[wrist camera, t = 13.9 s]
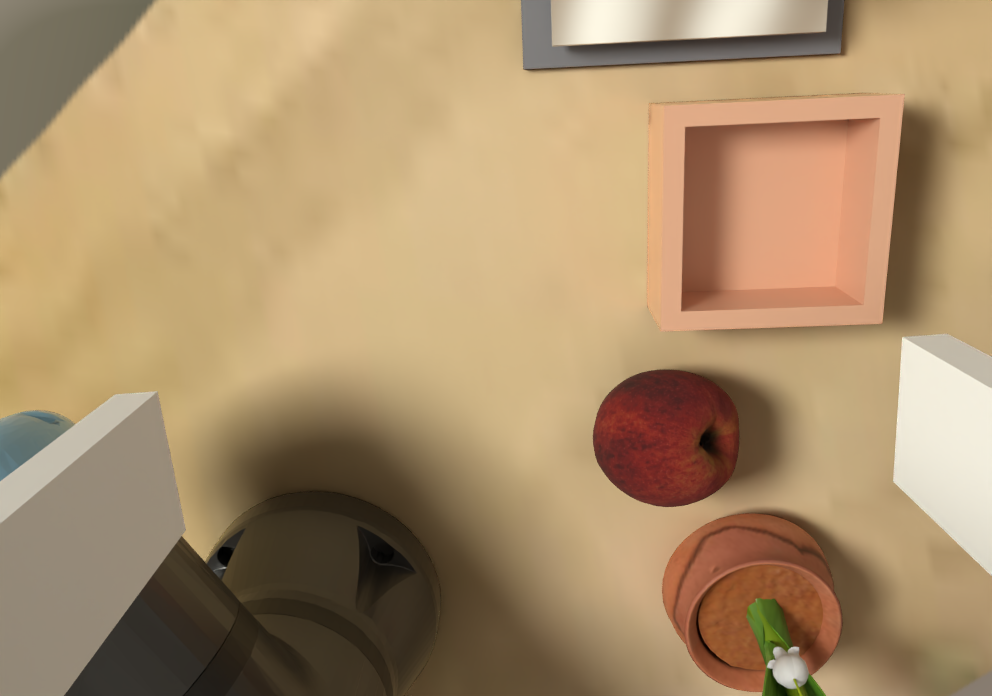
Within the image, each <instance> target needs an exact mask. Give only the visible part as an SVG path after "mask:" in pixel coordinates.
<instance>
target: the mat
mask: <svg viewBox="0 0 992 696" xmlns="http://www.w3.org/2000/svg"><path fill="white" fill-rule="evenodd" d="M521 11H522V40H523V68H524V69H540V68H560V67H580V66H600V65H620V64H639V63H659V62H679V61H699V60H719V59H739V58H759V57H779V56H799V55H819V54H838V53H841V39H842V26H843V12H844V0H828V8H827V23H826V32H820V33H808V34H788V35H769V36H749V37H730V38H710V39H691V40H671V41H652V42H632V43H613V44H594V45H574V46H555V47H552V21H551V0H521Z"/></svg>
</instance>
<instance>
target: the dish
mask: <svg viewBox="0 0 992 696" xmlns="http://www.w3.org/2000/svg"><path fill="white" fill-rule="evenodd" d="M904 95H905V94H879V93H853V94H832V95H811V96H790V97H770V98H749V99H728V100H707V101H686V102H665V103H649V150H648V269H647V307H648V309H649V310H650V312H651V314H652V316H653V318H654V320H655V322H656V323H657V325H658V327H659V329H660V331H686V330H715V329H744V328H773V327H802V326H830V325H859V324H882V321H883V310H884V300H885V290H886V280H887V269H888V259H889V249H890V239H891V228H892V218H893V208H894V198H895V187H896V177H897V167H898V157H899V146H900V136H901V126H902V116H903V105H904Z"/></svg>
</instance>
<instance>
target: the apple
mask: <svg viewBox="0 0 992 696" xmlns="http://www.w3.org/2000/svg"><path fill="white" fill-rule="evenodd" d="M593 445H594V451H595V456H596V459H597V462H598V464H599V466H600V467H601V469H602V471H603V472H604V474H605V475H606V476H607V477H608V479H609V480H610V481H611V482H612V483H613V484H614V485H615V486H616V487H617V488H619V489H620V490H621V491H623V492H624V493H626V494H627V495H629V496H630V497H632V498H634V499H636V500H639V501H641V502H644V503H647V504H651V505H655V506H662V507H676V506H683V505H688V504H691V503H694V502H697V501H700V500H702V499H704V498H706V497H708V496H710V495H712V494H713V493H715V492H716V491H717V490H719V489H720V488H721V487H722V486H723V485H724V484H725V483H726V482H727V481H728V480H729V478H730V477H731V475H732V473H733V471H734V469H735V465H736V461H737V457H738V450H739V418H738V413H737V410H736V407H735V405H734V403H733V402H732V400H731V398H730V397H729V396H728V395H727V393H726V392H725V391H723V390H722V389H721V388H720V387H719V386H718V385H716V384H715V383H713V382H712V381H710V380H708V379H706V378H704V377H702V376H699V375H696V374H693V373H690V372H685V371H679V370H653V371H647V372H643V373H640V374H637V375H634V376H632V377H630V378H628V379H626V380H624V381H623V382H621V383H620V384H619V385H617V386H616V387H615V388H614V389H613V390H612V391H611V392H610V393H609V394H608V395H607V396H606V398H605V399H604V401H603V402H602V404H601V406H600V408H599V410H598V413H597V417H596V421H595V425H594V430H593Z"/></svg>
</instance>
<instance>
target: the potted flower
mask: <svg viewBox="0 0 992 696" xmlns="http://www.w3.org/2000/svg"><path fill="white" fill-rule="evenodd" d="M662 594H663V603H664V606H665V609H666V612H667V615H668V616H669V618H670V620H671V622H672V624H673V626H674V628H675V630H676V632H677V634H678V635H679V637H680V638H681V639H682V640H683V642H684V643H685V644H686V646H687V649H688V652H689V654H690V656H691V657H692V659H693V661H694V662H695V663H696V665H697V666H698V667H699V669H701V670H702V671H703V672H704V673H705V674H706V675H707V676H708V677H710V678H712V679H713V680H715V681H716V682H718V683H720V684H722V685H725V686H727V687H730V688H733V689H737V690H742V691H749V692H762V696H826V695H825V694H824V692H823V691H822V689H821V688H820V687H819V685H818V684H817V683H816V681H815V680H814V679H813V678H812V676H811V675H812V674H814V673H815V672H817V671H818V670H819V669H820V668H821V667H822V666H823V665H824V664H825V663H826V662H827V661H828V659H829V658H830V657H831V655H832V654H833V652H834V650H835V648H836V647H837V645H838V642H839V639H840V636H841V631H842V624H843V622H842V610H841V606H840V602H839V600H838V598H837V596H836V594H835V592H834V583H833V579H832V575H831V572H830V569H829V566H828V563H827V561H826V558H825V556H824V554H823V552H822V550H821V548H820V547H819V546H818V544H817V543H816V541H815V540H814V539H813V538H812V537H811V536H810V535H809V534H808V533H807V532H806V531H804V530H803V529H801V528H800V527H798V526H797V525H795V524H793V523H791V522H789V521H787V520H785V519H782V518H779V517H775V516H771V515H765V514H738V515H731V516H727V517H724V518H720V519H717V520H715V521H712V522H710V523H708V524H706V525H704V526H703V527H701V528H699V529H698V530H696V531H695V532H693V533H692V534H691V535H690V536H688V537H687V538H686V539H685V540H684V541H683V542H682V543H681V544H680V545H679V547H678V548H677V549H676V550H675V552H674V553H673V555H672V556H671V558H670V560H669V562H668V565H667V567H666V569H665V573H664V578H663V586H662Z"/></svg>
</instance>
